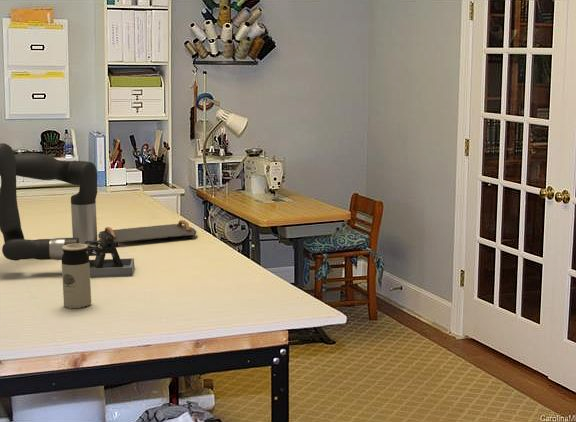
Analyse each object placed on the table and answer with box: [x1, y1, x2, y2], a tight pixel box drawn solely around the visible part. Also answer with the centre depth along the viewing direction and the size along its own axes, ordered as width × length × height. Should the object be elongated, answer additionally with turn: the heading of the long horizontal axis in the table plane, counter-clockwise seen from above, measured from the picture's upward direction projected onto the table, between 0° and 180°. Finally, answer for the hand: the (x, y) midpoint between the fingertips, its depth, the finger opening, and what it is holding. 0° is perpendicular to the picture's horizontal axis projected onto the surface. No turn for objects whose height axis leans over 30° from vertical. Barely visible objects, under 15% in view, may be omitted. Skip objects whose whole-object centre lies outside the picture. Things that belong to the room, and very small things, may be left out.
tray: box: [89, 257, 135, 279], centre depth 315 cm, size 14×17×3 cm
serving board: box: [97, 219, 197, 248], centre depth 370 cm, size 39×23×6 cm, turn 116°
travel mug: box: [61, 244, 92, 309], centre depth 274 cm, size 8×8×18 cm
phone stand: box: [93, 230, 123, 268], centre depth 314 cm, size 9×6×12 cm, turn 114°
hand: (114, 247), depth 314 cm, fingers closed on phone stand, 6 cm apart
